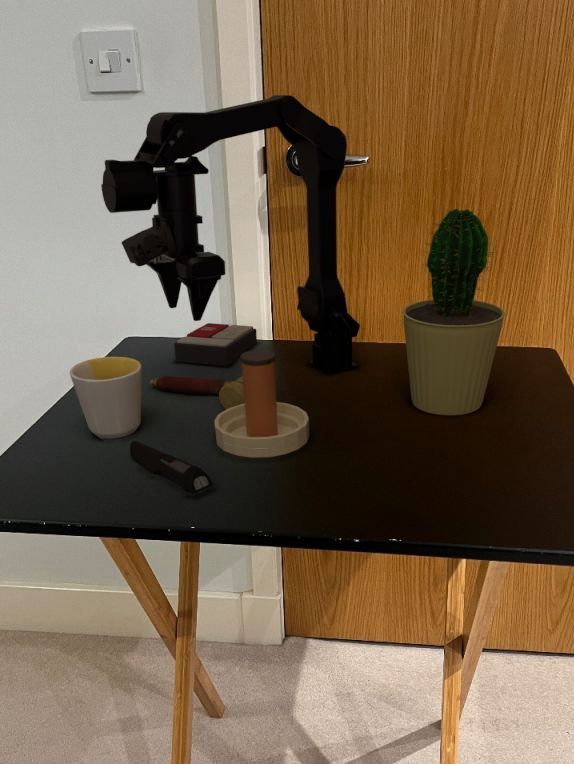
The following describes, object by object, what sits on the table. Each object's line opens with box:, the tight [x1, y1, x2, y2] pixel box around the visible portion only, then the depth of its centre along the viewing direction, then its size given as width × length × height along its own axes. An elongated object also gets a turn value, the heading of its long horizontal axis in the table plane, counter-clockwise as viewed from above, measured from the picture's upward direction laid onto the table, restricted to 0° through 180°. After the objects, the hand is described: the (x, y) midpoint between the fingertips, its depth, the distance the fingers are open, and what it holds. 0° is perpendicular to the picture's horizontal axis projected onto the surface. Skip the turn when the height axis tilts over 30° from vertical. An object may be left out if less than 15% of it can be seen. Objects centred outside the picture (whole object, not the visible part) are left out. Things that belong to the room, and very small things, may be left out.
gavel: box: [149, 374, 245, 410], centre depth 128 cm, size 21×5×10 cm
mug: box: [69, 356, 143, 440], centre depth 115 cm, size 14×10×10 cm
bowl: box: [213, 401, 310, 459], centre depth 111 cm, size 14×14×4 cm
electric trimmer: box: [129, 440, 213, 495], centre depth 103 cm, size 4×16×3 cm, turn 45°
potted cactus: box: [401, 204, 506, 416], centre depth 116 cm, size 15×15×30 cm
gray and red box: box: [173, 322, 258, 367], centre depth 147 cm, size 11×4×15 cm
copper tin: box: [240, 349, 278, 437], centre depth 109 cm, size 5×5×12 cm
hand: (184, 314), depth 120 cm, fingers open, 9 cm apart
